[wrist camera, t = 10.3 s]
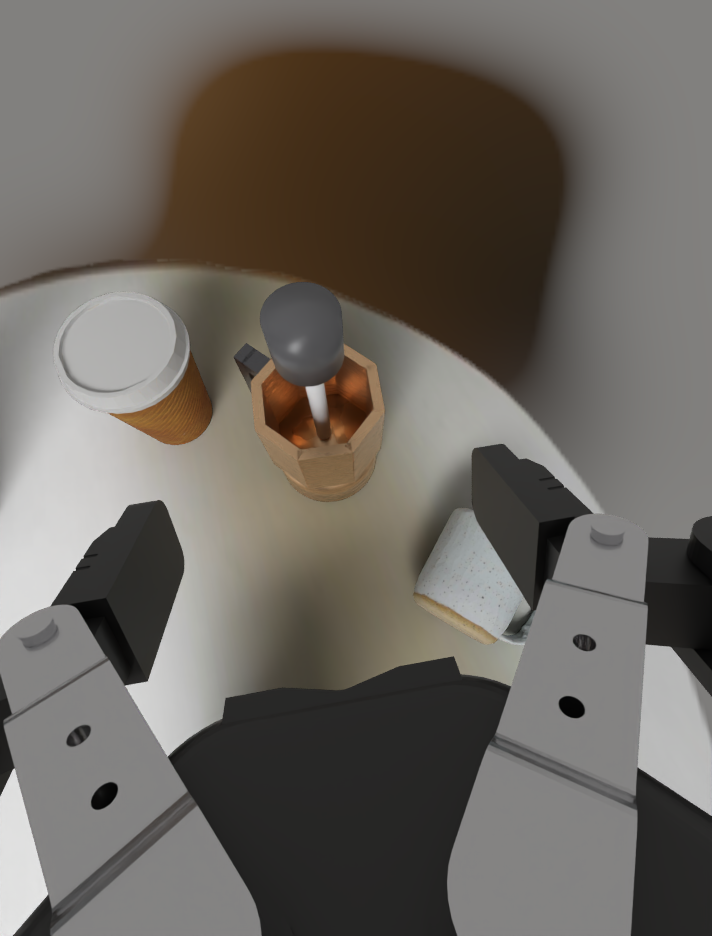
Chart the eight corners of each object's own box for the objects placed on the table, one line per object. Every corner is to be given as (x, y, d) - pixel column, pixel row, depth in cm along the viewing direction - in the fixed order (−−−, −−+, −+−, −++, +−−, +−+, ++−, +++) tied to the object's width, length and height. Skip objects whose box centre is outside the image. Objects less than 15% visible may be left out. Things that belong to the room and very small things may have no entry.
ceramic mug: (401, 600, 38) (413, 597, 31) (446, 516, 40) (466, 495, 33) (518, 669, 37) (560, 684, 30) (558, 578, 39) (606, 570, 32)
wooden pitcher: (239, 448, 43) (194, 386, 31) (297, 381, 45) (275, 300, 33) (338, 520, 40) (329, 483, 29) (394, 446, 42) (406, 383, 31)
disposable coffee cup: (250, 408, 44) (211, 334, 32) (176, 482, 42) (106, 431, 30) (181, 351, 46) (121, 263, 34) (107, 419, 44) (17, 349, 32)
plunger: (288, 437, 37) (243, 323, 22) (319, 400, 38) (294, 269, 23) (328, 465, 36) (307, 366, 22) (359, 427, 37) (358, 308, 23)
